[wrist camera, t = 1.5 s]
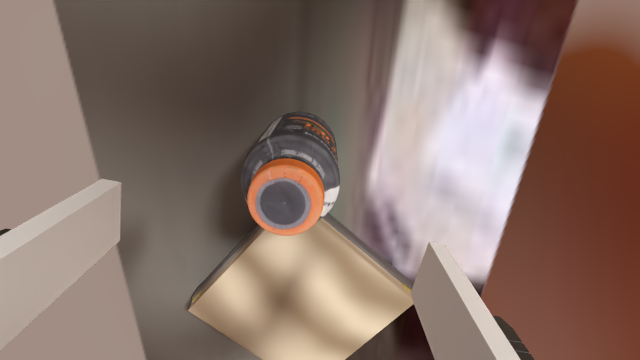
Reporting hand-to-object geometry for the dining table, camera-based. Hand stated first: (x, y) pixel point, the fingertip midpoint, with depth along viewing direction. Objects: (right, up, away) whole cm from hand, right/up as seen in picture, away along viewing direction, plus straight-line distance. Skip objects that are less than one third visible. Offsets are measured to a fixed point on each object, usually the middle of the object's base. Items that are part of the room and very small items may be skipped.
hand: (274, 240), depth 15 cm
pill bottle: (0, +5, +14) cm, 15 cm away
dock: (0, -7, +18) cm, 20 cm away
